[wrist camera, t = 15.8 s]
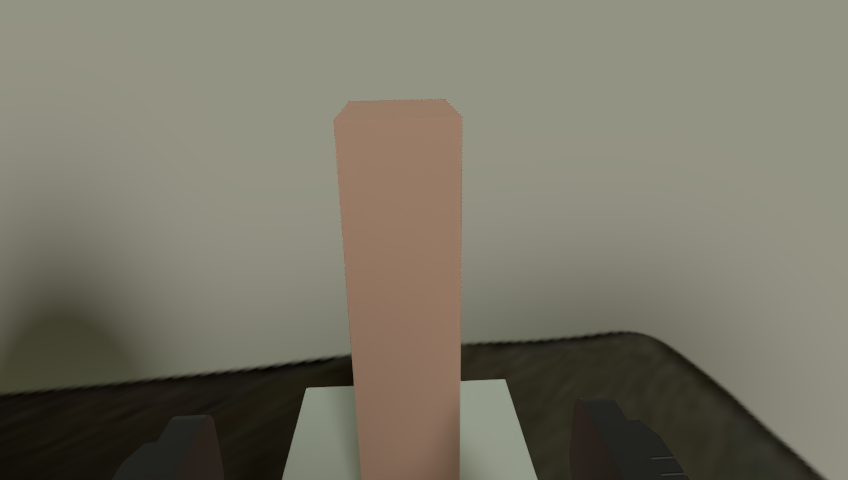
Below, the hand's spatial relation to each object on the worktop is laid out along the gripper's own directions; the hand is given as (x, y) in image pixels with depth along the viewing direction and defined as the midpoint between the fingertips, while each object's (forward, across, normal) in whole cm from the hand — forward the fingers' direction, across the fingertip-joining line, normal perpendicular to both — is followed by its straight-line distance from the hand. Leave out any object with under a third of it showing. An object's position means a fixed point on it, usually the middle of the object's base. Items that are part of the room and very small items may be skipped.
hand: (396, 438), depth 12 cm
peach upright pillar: (+10, 0, +11) cm, 15 cm away
